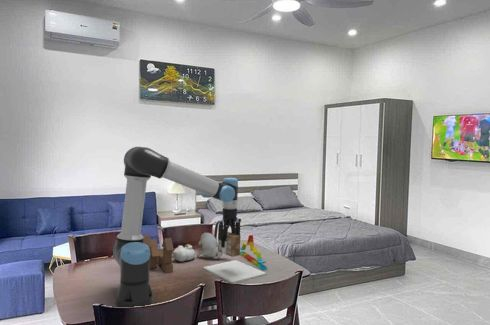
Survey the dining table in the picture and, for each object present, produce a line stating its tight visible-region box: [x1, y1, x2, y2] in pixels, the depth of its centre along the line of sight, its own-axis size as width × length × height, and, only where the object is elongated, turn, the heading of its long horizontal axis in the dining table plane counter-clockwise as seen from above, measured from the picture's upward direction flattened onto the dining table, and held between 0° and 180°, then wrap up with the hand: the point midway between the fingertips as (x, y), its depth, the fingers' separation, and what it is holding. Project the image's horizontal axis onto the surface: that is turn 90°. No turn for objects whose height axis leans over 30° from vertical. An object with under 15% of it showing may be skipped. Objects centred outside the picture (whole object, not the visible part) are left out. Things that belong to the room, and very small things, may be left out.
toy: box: [196, 232, 224, 260], centre depth 214 cm, size 8×15×20 cm
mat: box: [202, 259, 267, 284], centre depth 194 cm, size 22×26×1 cm
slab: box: [217, 231, 241, 258], centre depth 189 cm, size 5×12×10 cm, turn 40°
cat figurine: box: [172, 244, 196, 263], centre depth 209 cm, size 10×8×15 cm
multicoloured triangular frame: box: [239, 234, 268, 271], centre depth 211 cm, size 30×3×15 cm, turn 24°
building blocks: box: [141, 233, 175, 274], centre depth 191 cm, size 19×25×35 cm
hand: (228, 252), depth 189 cm, fingers closed on slab, 5 cm apart
